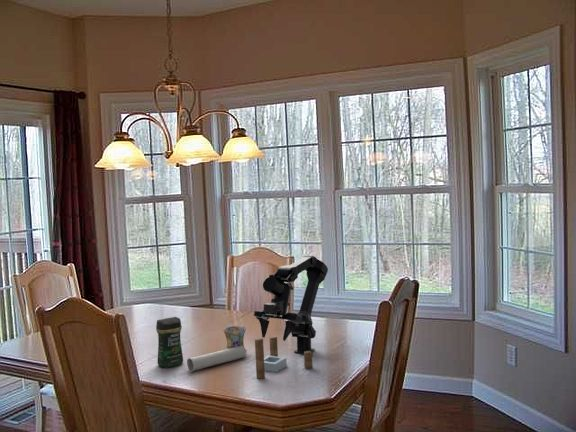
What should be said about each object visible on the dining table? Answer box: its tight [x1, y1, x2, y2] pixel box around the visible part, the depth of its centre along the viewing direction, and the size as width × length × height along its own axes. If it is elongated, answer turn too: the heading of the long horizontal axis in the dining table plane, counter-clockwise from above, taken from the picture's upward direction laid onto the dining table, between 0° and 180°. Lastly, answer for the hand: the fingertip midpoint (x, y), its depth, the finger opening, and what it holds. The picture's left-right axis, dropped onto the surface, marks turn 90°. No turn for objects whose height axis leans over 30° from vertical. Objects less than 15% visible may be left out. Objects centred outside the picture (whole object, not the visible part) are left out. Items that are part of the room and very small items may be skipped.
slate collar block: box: [264, 354, 288, 373], centre depth 210 cm, size 8×8×3 cm
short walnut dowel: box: [303, 351, 313, 370], centre depth 207 cm, size 3×3×6 cm
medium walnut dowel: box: [269, 335, 279, 357], centre depth 218 cm, size 3×3×9 cm
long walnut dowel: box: [254, 337, 266, 380], centre depth 199 cm, size 3×3×14 cm
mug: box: [223, 325, 247, 349], centre depth 229 cm, size 12×9×11 cm
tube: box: [186, 346, 247, 373], centre depth 217 cm, size 5×5×25 cm
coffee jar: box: [155, 316, 184, 369], centre depth 218 cm, size 10×8×19 cm
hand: (273, 339), depth 208 cm, fingers open, 9 cm apart
